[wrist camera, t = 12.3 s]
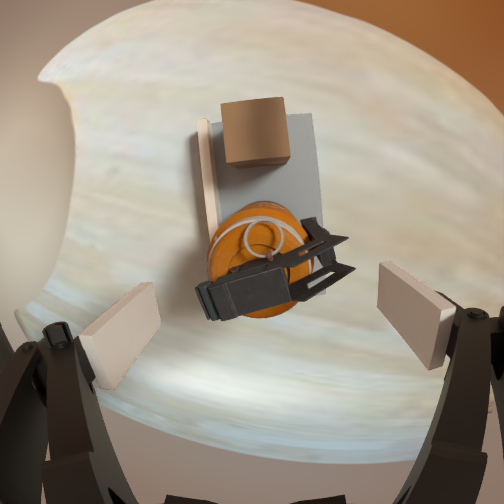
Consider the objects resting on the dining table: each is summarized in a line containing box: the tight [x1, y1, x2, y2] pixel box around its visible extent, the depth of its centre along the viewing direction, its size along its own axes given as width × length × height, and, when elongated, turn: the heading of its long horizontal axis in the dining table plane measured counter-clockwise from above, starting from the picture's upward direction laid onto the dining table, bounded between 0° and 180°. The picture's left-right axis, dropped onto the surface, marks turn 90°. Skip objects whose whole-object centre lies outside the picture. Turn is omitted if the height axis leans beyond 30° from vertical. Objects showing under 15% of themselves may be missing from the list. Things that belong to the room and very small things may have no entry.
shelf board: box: [197, 113, 326, 295], centre depth 34 cm, size 14×24×4 cm, turn 6°
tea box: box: [221, 97, 291, 169], centre depth 28 cm, size 6×6×9 cm
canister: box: [195, 201, 356, 321], centre depth 25 cm, size 9×11×20 cm
